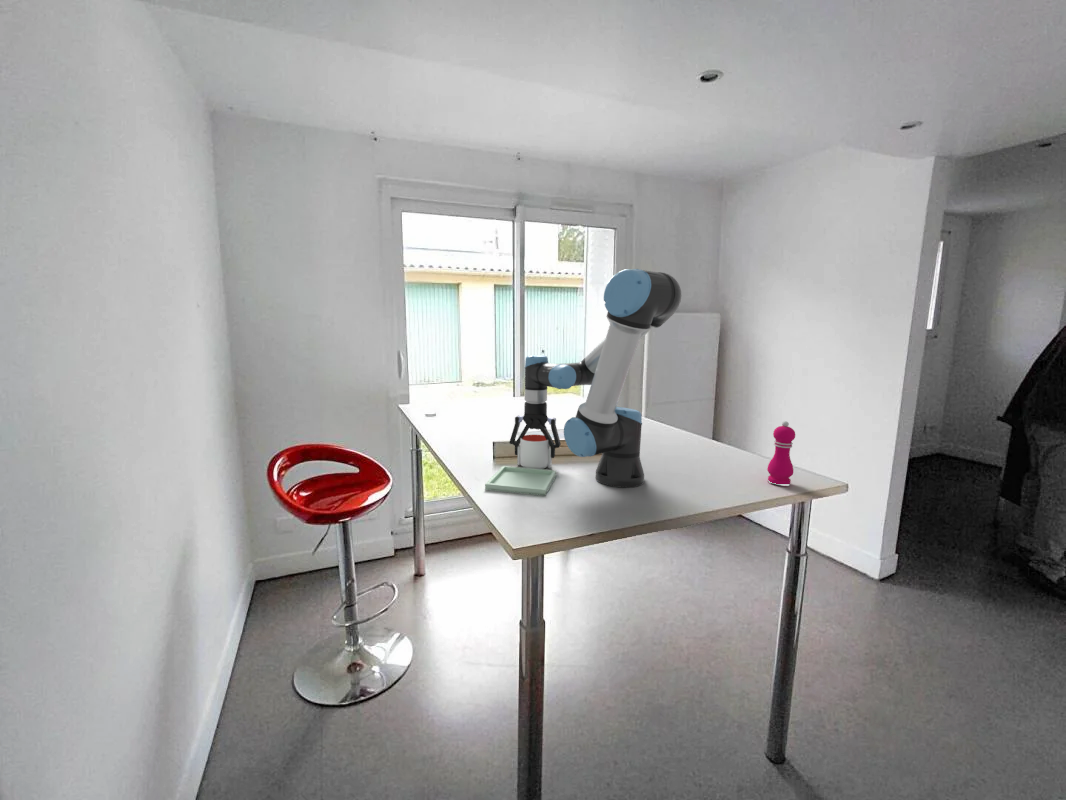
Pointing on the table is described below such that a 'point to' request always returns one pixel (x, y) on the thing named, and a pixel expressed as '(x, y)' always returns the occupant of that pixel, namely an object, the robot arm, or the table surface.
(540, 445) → the cup
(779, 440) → the pepper mill
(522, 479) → the tray
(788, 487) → the table surface
